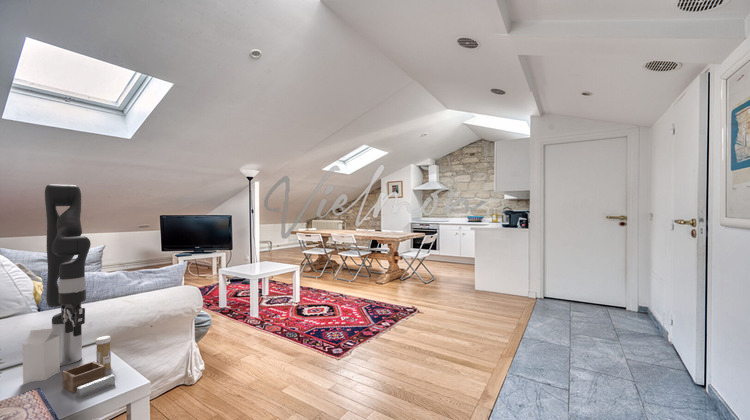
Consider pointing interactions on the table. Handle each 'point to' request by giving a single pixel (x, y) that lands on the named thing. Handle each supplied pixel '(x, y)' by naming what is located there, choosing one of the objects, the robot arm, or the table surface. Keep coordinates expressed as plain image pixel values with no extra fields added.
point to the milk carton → (40, 355)
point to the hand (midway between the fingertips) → (73, 333)
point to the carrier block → (82, 375)
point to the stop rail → (95, 386)
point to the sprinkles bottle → (104, 351)
